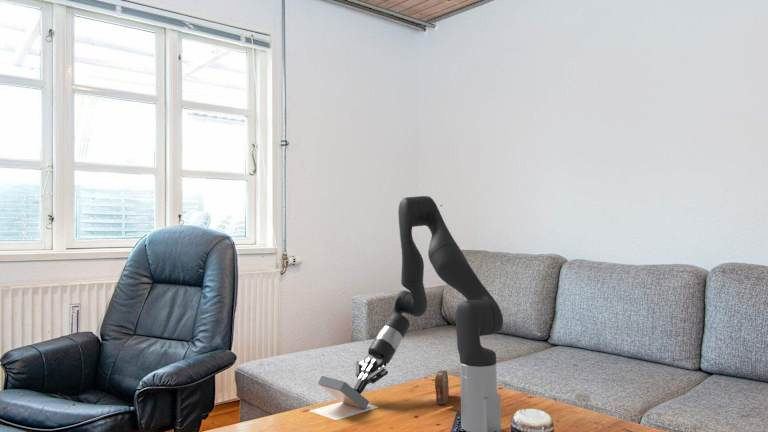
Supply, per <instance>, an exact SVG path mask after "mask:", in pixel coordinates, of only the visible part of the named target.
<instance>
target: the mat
mask: <svg viewBox="0 0 768 432" xmlns="http://www.w3.org/2000/svg"><path fill="white" fill-rule="evenodd" d="M378 408H379V406H377V405H373V404H370V403H369V404H368V406H367V408H366V410H365V409H361V408H358V407H355V406H352V405H348V404H345V403H342V402H341V401H339V402H337V403H333V404H329V405H325V406H321V407H318V408H314V409H311V410H309V412H311V413H313V414H316V415H318V416H319V415H320V416H322V417H325V418H328V419H330V420H334V421H339V420H342V419H345V418H348V417H352V416H355V415H358V414H360V413H364V412H365V413H366V412H368V411H371V410H374V409H378Z"/></svg>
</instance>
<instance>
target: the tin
mask: <svg viewBox="0 0 768 432" xmlns="http://www.w3.org/2000/svg"><path fill="white" fill-rule="evenodd" d="M434 379H435V380H434V388H435V397H436V399H435V402H436V404H437V405H446V404H447V403H448V400H449V394H450V393H449V391H450V390H449V389H450V388H449V378H448V372H447V370H446V369H445V370H437V372H436V375H435V378H434Z"/></svg>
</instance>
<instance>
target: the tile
mask: <svg viewBox="0 0 768 432" xmlns="http://www.w3.org/2000/svg"><path fill="white" fill-rule="evenodd" d="M317 385H319V386H320V387H321V388H323V389H324V390H325V391H327V392H328V393H329V394H330V395H332V396H333V397H335V398H336V399H337V400H338V401H339V402H342V403H345V404H348V405H352V406H355V407H358V408H361V409H365V410H366V408H367V406H368V404H370V401H369V400H368V399H367V398H366V397H365V396H363V395H362V393H361V394H359V393H358V392H357V391H356V390H354V389H353V388H354V387H352V386H351V385H349V384H348V383H347V382H345V381H343V380H340V379H335V378H332V377H329V376H325V375H321V377H320V379H319V380H318V382H317Z"/></svg>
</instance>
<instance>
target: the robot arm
mask: <svg viewBox="0 0 768 432" xmlns="http://www.w3.org/2000/svg"><path fill="white" fill-rule="evenodd" d="M397 214H398V228H399V237H400V238H399V240H400V246H401V247H400V249H401V278H400V279H401V280H400V283H401V285H402V287H404V288H405V289H406V290H401V291H400V292H398V293H397V294H396V296H395V298H394V302H393V305H392V308H391V312H390V314H389V317H388V319H387V321H386V322H385V324H384V325H383V327H381V329H380V331H378V333H377V335H376V337H375V338H374V339H373V341H372V343H371V345H370V346H369V347H368V349H367V351H368V353H367V355H366V356H365V357H364V358H363V360H362V361H359V360H357V361H356V362H355V377H356V378H357V381H356V383H355V385H354V386H353V387H352V388H353V389H354V390H356V391H357V392H358V393H359V394H361V395H362V393H363V392H364V390H365V388H366V387H367V385H369V384H371V385H372V384H374V383H377V382H378V381H379V380H381V379H383V378H384V377H385V376H387V375H388V374H389V371H388V369H386V366H387V365H388V364H389V363H390V361H391V360H392V358H393V357H394V355H395V353H397V350H398V349H399V347H400V346H401V342H402V340H403V339H404V337H405V335H406V334H407V332H408V330H409V328H410V326H411V325H410V320H409V319H408V318H407V317H406V316H404V315H403V314H406V315H410V316H413V317H417V318H419V317H422V316H423V315H424V314H425V313H426V311H427V307H428V299H427V295H426V289H425V284H424V273H425V271H424V270H425V269H424V268H425V262H424V258H423V255H422V253H421V252H420V250H419V248H418V247H417V245H416V243H415V241H414V238H413V228H414V227H424V226H425V227H427V228H428V230H429V231H430V233H431V238H430V243H429V245H428V249H427V250H428V254H427V255H428V259H429V262H430V264H431V266H432V268H433V269H434V272H435V273H436V275H437V276H438V277H439V278H440V280H442V281H443V282H444V283H446V284H447V285H448V286H450V287H452V288H453V289H454V290H456V291H457V292H458V293H459V294H461V295H462V296H463V297H464V298H465V299H466V300H463V301H461V302H459V304H458V305H457V307H456V312H455V331H456V346H457V351H458V355H459V375H460V376H459V377H460V379H459V380H460V381H459V382H460V383H459V384H460V387H459V388H460V421H461V422H460V423H461V424H460V427H462V429H464V430H466V431H471V432H494V431H497V432H502V412H501V411H502V410H501V409H502V407H501V406H502V405H501V403H502V402H501V401H502V400H501V394H500V393H498V383H497V382H498V381H497V379H498V378H497V376H498V375H497V374H498V373H497V353H496V352H495V351H494V350H492V349H490V348H486V347H484V346H482V344H481V337H482V336H483V337H485V336H490V335H494V334H495V335H496V334H498V333H499V332H500V331H501V330H502V329H503V326H504V318H503V313H502V311H501V308H500V306H499V304H498V303H497V301H496V300H495V299H494V297H493V296H492V294H491V293H490V292H489V291H488V289H487V288H486V287H485V285H484V284H483V283H482V282H481V280H480V279H479V277H478V276H477V274H476V273H475V272H474V269H473V268H472V267H471V265H470V264H469V262H468V260H467V258H466V256H465V255H464V253H463V251H462V249H461V248H460V246H459V245H458V244H457V242H456V240H455V239H454V237H453V236H452V234H451V232H450V229H449V228H448V226H447V225H446V222H445V221H444V218H443V216H442V214H441V212H440V209H439V208H438V205H437V204H436V202H435V200H434V199H433V198H432V197H431V196H428V195H420V196H409V197H408V196H407V197H406V196H405V197H403V198H401V200H400V201H399V203H398V213H397ZM407 290H408V291H407Z"/></svg>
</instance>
